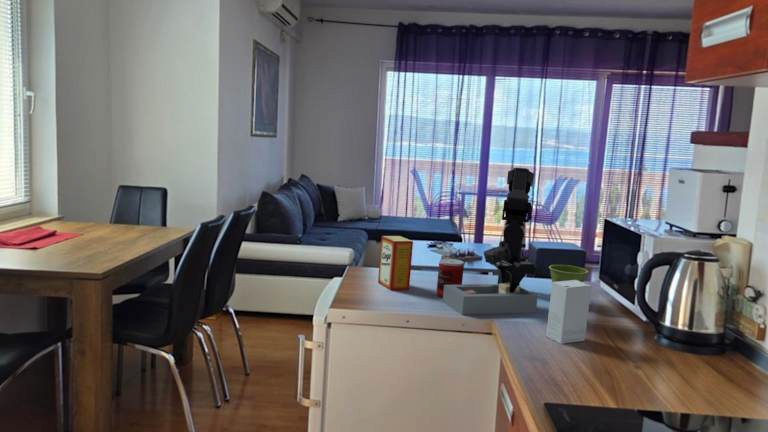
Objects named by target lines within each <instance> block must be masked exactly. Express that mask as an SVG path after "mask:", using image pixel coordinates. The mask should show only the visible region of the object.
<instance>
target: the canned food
mask: <svg viewBox="0 0 768 432" xmlns="http://www.w3.org/2000/svg"><path fill="white" fill-rule="evenodd" d="M438 262H439V263H438V273H437V283H436V295H437V296H438V297H439V296H440V297H439V298H442V299H443V292H444V285H463V278H464V271H465V270H464V269H465V268H464V267H465V262H464V261H463V260H460V259H457V258H441V259H439V261H438Z"/></svg>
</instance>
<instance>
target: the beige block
mask: <svg viewBox="0 0 768 432" xmlns="http://www.w3.org/2000/svg"><path fill="white" fill-rule="evenodd" d="M519 287H520V286H519V285H518V286H517V288H516V290H515V291H514V293H510V282H507V283H500V284H499V292H500V293H502V294H508V295H514V294H519Z"/></svg>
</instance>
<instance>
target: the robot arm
mask: <svg viewBox="0 0 768 432" xmlns="http://www.w3.org/2000/svg"><path fill="white" fill-rule="evenodd" d="M506 178H507V179H506V185H508V191H509V192H508V193H507V194H506V199H504V200H503V206H502V207H503V208H502V215H501V216H502V217H501V220H502V221H505V223H504V228H503V233H502V236H503V240H500V241H499V244H498V246H496V247H493V248H488V249H487V250H484V251H483V255H484V261H485V262H486V263H488V264H489V265H492V266H493V267H495V268H496V270H497V272H498V276H497V282H496V284H500V283H507V282H510V293H514V291H515V290H516V288H517V286H518V285H519V287H521V286H520V285H521V284H520V283H521V282H522V281H523V279H524V278H525V276H526V275H536V274H537V265H536V264H535V263H532V262H530V261H528V260H527V259H526V256H525V255H524V249H523V248H526V247H527V245H526V243H524V237H525V229H526V228H525V227H526V224H525V223H529V221H530V220H532V214H533V213H532V212H533V205H532V202H531V201H529V194H530V193H531V187H532V188H533V186H534V178H535V173H534V172H532V171H530V169H528V168H525V167H514V168H513V169H511V170H508V171H507V177H506Z"/></svg>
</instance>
